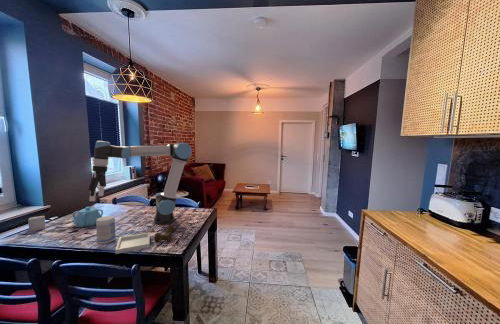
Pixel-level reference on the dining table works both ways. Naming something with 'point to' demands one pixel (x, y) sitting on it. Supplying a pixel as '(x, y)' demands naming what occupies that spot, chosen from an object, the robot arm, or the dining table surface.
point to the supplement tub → (105, 229)
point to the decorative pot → (87, 216)
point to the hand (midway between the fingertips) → (96, 198)
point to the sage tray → (133, 243)
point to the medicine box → (36, 223)
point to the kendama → (165, 235)
